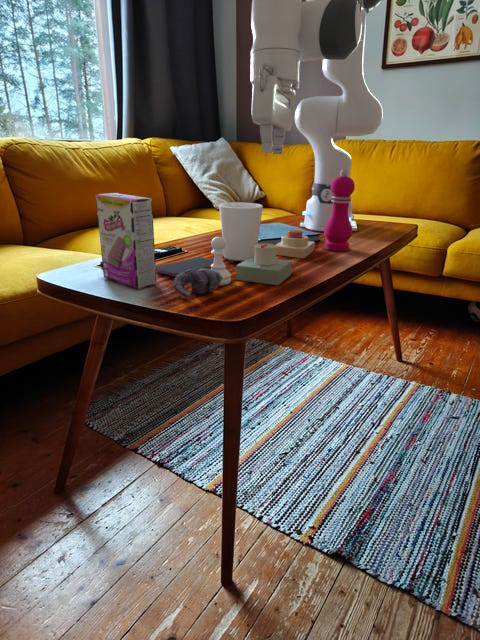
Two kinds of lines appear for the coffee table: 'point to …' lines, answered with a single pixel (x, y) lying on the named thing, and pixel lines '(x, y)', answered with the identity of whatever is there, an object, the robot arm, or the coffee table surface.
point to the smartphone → (184, 266)
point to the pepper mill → (339, 214)
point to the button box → (294, 247)
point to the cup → (240, 229)
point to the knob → (265, 254)
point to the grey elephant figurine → (197, 281)
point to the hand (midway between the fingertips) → (272, 153)
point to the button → (295, 234)
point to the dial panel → (264, 271)
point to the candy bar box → (127, 239)
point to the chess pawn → (220, 259)
